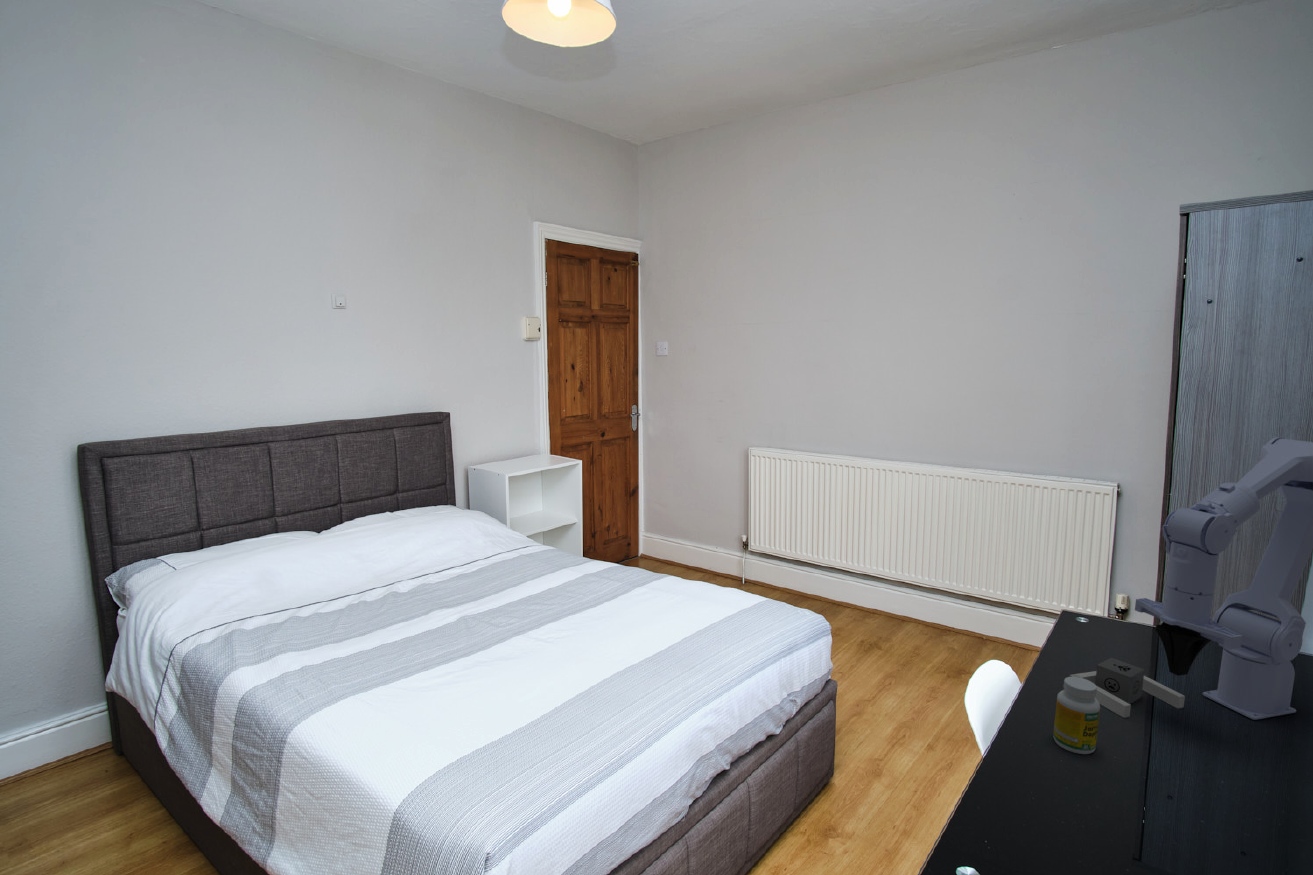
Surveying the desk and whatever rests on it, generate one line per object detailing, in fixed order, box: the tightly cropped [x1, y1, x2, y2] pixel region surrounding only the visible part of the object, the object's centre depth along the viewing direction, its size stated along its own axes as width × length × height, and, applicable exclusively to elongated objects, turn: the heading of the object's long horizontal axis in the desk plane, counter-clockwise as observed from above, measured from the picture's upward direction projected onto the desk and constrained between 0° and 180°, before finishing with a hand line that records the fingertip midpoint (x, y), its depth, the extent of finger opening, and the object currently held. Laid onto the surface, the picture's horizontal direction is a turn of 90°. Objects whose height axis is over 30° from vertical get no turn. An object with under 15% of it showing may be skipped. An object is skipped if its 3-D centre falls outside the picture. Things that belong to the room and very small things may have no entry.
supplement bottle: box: [1052, 676, 1101, 755], centre depth 98 cm, size 5×5×10 cm
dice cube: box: [1095, 657, 1146, 705], centre depth 113 cm, size 5×5×5 cm
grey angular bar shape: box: [1069, 670, 1186, 719], centre depth 113 cm, size 12×10×2 cm
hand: (1178, 672), depth 104 cm, fingers closed
